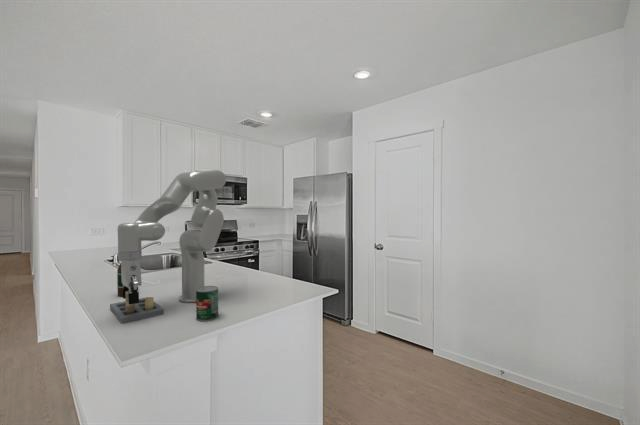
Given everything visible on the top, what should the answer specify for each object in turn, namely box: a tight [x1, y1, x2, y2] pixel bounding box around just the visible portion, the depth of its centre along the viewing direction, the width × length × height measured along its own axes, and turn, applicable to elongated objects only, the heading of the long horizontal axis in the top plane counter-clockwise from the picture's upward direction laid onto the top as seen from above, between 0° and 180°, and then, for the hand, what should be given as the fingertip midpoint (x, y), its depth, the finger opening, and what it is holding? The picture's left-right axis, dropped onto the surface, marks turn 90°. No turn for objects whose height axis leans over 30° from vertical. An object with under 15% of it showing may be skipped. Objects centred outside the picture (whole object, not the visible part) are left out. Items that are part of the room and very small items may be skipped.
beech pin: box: [125, 291, 135, 315], centre depth 113 cm, size 3×3×10 cm
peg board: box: [109, 296, 165, 325], centre depth 119 cm, size 22×14×6 cm, turn 44°
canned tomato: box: [195, 285, 219, 322], centre depth 113 cm, size 8×8×11 cm
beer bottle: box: [116, 263, 123, 298], centre depth 142 cm, size 8×8×24 cm
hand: (130, 300), depth 113 cm, fingers open, 9 cm apart
